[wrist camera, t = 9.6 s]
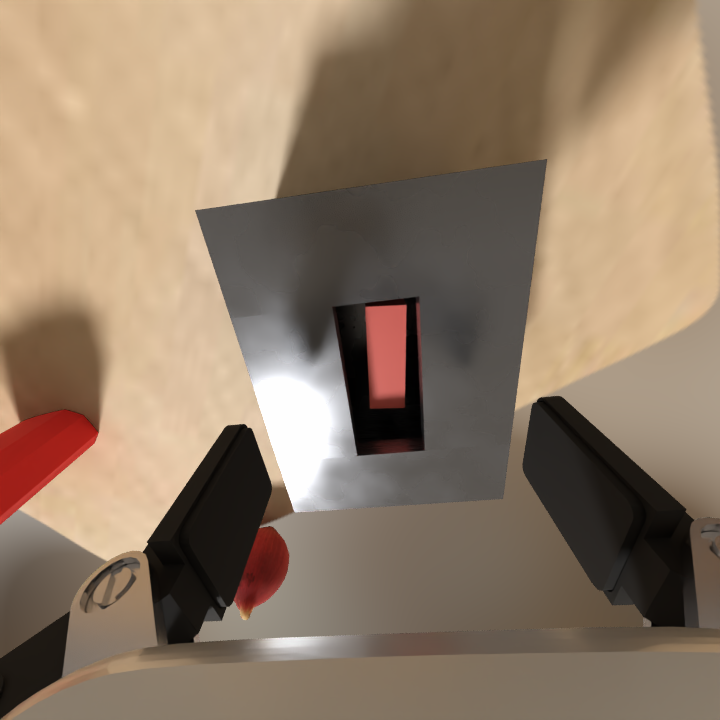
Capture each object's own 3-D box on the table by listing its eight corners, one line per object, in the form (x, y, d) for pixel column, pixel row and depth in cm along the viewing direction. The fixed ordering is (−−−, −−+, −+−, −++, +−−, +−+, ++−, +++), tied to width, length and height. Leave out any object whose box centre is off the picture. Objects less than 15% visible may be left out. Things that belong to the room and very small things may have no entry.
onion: (235, 532, 32) (197, 622, 25) (255, 502, 30) (220, 591, 23) (282, 550, 34) (259, 640, 26) (305, 522, 31) (286, 613, 24)
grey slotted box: (270, 214, 18) (195, 210, 10) (463, 187, 18) (546, 159, 9) (317, 418, 25) (294, 512, 17) (457, 406, 24) (503, 498, 16)
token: (369, 362, 22) (365, 282, 19) (395, 361, 22) (395, 281, 19) (370, 408, 17) (365, 306, 14) (404, 407, 17) (406, 305, 14)
